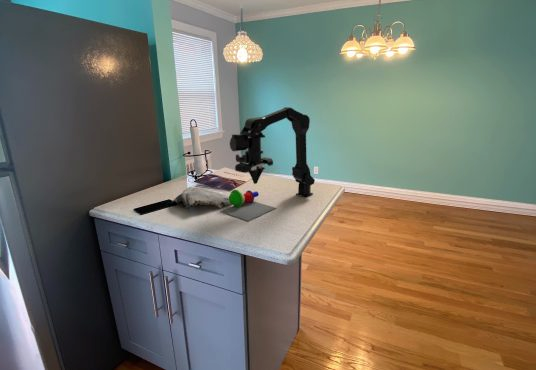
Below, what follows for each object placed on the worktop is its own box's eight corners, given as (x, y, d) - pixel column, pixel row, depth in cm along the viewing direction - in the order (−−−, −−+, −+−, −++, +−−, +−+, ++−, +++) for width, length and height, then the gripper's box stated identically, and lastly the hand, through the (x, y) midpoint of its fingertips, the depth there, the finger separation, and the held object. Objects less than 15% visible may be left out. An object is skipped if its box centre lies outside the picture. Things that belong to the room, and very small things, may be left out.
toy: (257, 182, 141) (231, 189, 131) (262, 198, 140) (237, 206, 130) (247, 187, 147) (222, 194, 136) (253, 202, 146) (228, 210, 136)
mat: (248, 200, 145) (248, 199, 144) (276, 208, 134) (276, 207, 134) (220, 211, 131) (220, 211, 131) (248, 221, 121) (248, 220, 121)
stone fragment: (205, 191, 162) (205, 179, 161) (241, 203, 143) (240, 190, 141) (161, 202, 145) (160, 189, 143) (195, 217, 126) (194, 203, 124)
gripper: (255, 144, 140) (255, 176, 145) (225, 149, 127) (227, 185, 131) (273, 146, 133) (273, 180, 138) (244, 152, 120) (245, 190, 124)
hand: (255, 183), depth 133 cm, fingers closed
